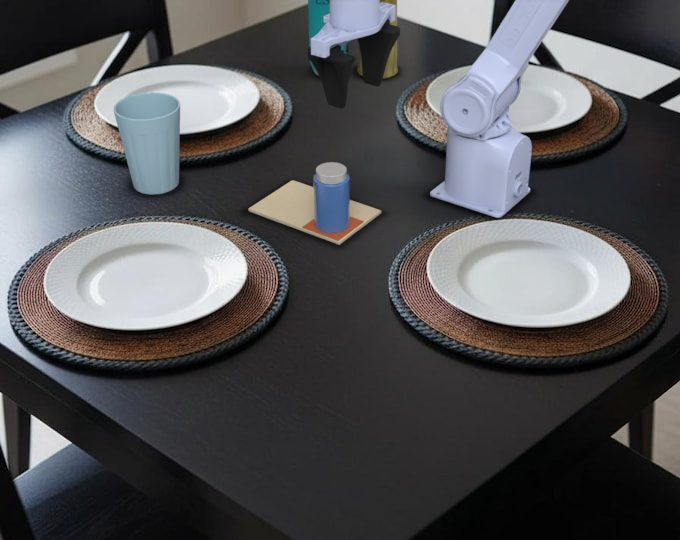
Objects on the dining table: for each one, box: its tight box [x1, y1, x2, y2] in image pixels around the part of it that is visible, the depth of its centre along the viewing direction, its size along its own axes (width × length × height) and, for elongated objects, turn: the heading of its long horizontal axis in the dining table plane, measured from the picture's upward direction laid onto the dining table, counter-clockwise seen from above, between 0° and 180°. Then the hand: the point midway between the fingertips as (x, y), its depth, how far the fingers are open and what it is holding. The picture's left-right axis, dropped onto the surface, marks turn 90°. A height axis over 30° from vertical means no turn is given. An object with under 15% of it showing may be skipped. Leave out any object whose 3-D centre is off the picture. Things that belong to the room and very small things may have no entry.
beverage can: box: [307, 0, 349, 77], centre depth 152 cm, size 6×6×15 cm
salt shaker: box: [312, 161, 351, 233], centre depth 116 cm, size 4×4×7 cm
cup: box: [113, 92, 181, 196], centre depth 125 cm, size 8×8×10 cm
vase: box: [356, 0, 399, 80], centre depth 152 cm, size 6×6×14 cm
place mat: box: [248, 179, 382, 246], centre depth 121 cm, size 13×8×1 cm, turn 54°
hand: (354, 94), depth 126 cm, fingers open, 7 cm apart
